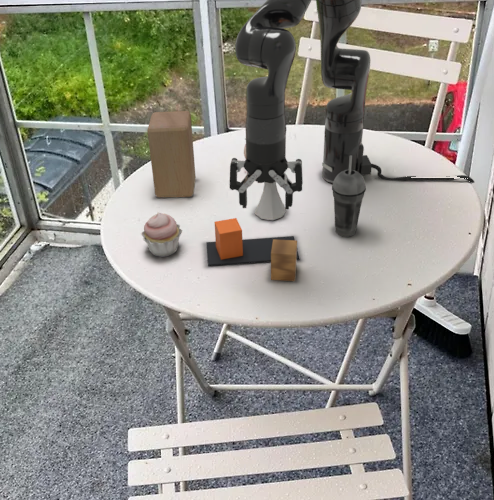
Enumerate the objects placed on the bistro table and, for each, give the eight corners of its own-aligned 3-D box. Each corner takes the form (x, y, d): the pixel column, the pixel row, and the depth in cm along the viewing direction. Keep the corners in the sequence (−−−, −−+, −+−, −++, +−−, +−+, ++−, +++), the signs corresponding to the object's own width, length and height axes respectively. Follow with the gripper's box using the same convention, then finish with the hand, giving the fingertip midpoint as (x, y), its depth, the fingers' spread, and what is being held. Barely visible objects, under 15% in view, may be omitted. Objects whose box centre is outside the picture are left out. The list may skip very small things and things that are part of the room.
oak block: (296, 266, 141) (297, 240, 137) (294, 281, 137) (295, 254, 133) (273, 265, 142) (273, 239, 138) (271, 279, 138) (270, 253, 134)
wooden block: (196, 178, 176) (190, 109, 164) (193, 198, 168) (187, 126, 156) (159, 179, 177) (151, 110, 166) (154, 199, 169) (146, 128, 158)
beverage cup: (363, 224, 152) (370, 146, 140) (360, 242, 146) (367, 162, 135) (331, 220, 154) (336, 144, 143) (327, 238, 149) (331, 160, 137)
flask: (249, 214, 159) (248, 179, 154) (267, 201, 163) (266, 166, 158) (273, 224, 155) (273, 187, 149) (291, 210, 159) (292, 174, 153)
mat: (293, 238, 150) (293, 235, 150) (299, 260, 143) (299, 257, 143) (206, 244, 151) (206, 242, 151) (208, 266, 144) (207, 264, 144)
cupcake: (156, 234, 156) (152, 198, 150) (190, 242, 152) (187, 206, 146) (135, 255, 150) (129, 218, 144) (170, 265, 146) (166, 228, 140)
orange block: (237, 243, 149) (236, 217, 145) (242, 256, 145) (242, 229, 141) (215, 247, 149) (214, 221, 145) (221, 259, 145) (219, 233, 140)
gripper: (225, 142, 122) (228, 215, 131) (303, 143, 119) (301, 218, 129) (230, 125, 128) (233, 196, 137) (304, 125, 125) (302, 198, 135)
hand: (266, 206), depth 133 cm, fingers open, 8 cm apart
